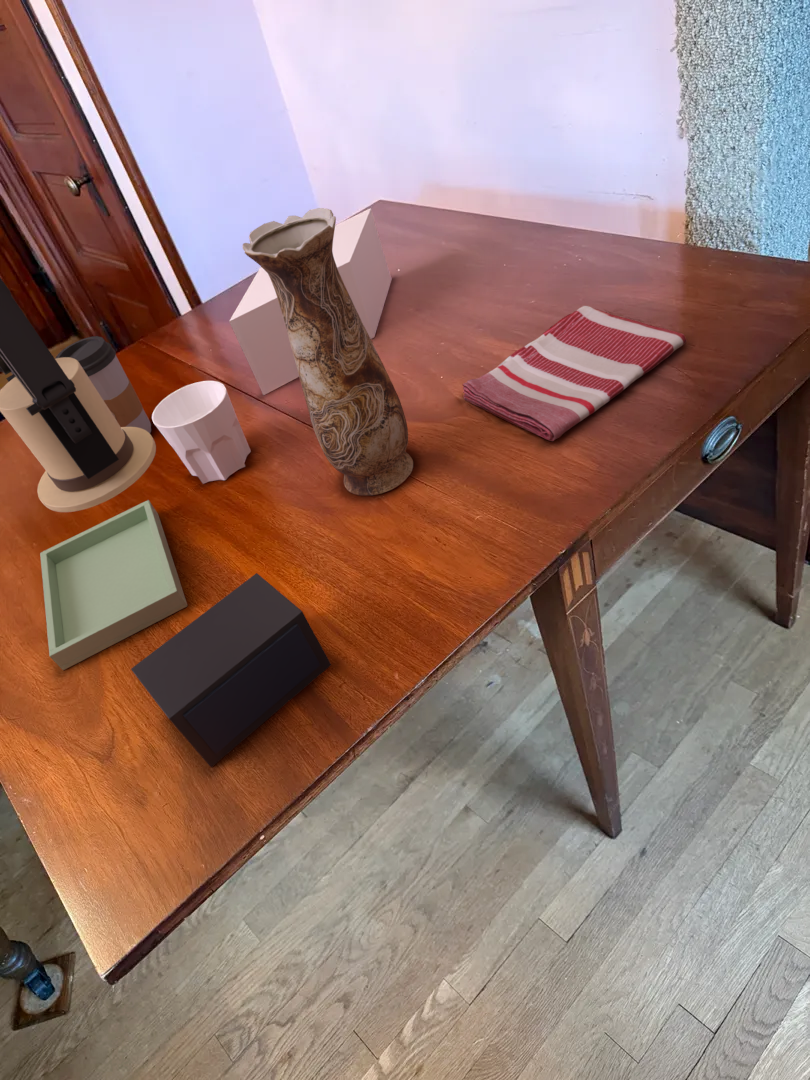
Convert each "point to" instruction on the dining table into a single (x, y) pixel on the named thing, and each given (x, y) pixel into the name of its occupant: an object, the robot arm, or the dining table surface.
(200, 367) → the dining table surface
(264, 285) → the block
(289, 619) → the black rectangular block
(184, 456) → the cup
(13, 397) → the hat
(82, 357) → the coffee cup
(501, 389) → the dish towel
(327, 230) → the vase
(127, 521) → the tray
